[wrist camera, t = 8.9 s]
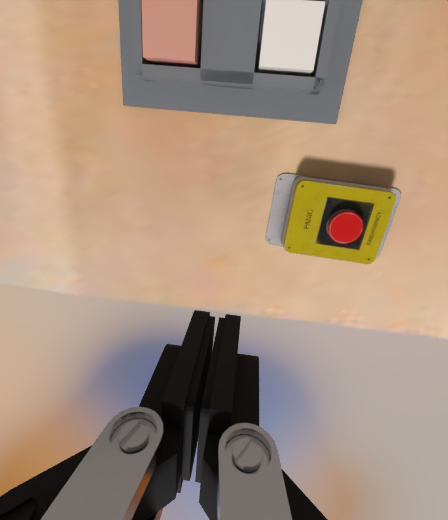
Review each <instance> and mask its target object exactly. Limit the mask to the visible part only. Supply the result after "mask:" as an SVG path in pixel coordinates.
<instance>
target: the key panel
mask: <svg viewBox="0 0 448 520" xmlns="http://www.w3.org/2000/svg"><path fill="white" fill-rule="evenodd" d="M309 1H325V7H324V12H323V18H322V24H321V30H320V35H319V41H318V47H317V53H316V59H315V64H314V70H313V71H312V73H311V74H310V75H309V76H308V77H306V76H293V75H280V74H267V73H259V61H260V52H261V43H262V34H263V24H264V15H265V6H266V0H201V3H202V5H203V24H202V47H201V68H193V67H180V66H167V65H154V64H152V63H151V62H149V61H148V60H146V59H145V58H143V47H142V0H119V22H120V44H121V66H122V88H123V105H124V106H132V107H143V108H155V109H166V110H178V111H189V112H201V113H212V114H224V115H235V116H247V117H258V118H270V119H281V120H293V121H304V122H316V123H327V124H336V122H337V118H338V113H339V108H340V104H341V99H342V94H343V89H344V85H345V80H346V75H347V71H348V66H349V61H350V56H351V52H352V47H353V42H354V38H355V33H356V28H357V24H358V19H359V14H360V9H361V5H362V0H309Z"/></svg>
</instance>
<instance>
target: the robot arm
mask: <svg viewBox="0 0 448 520" xmlns="http://www.w3.org/2000/svg"><path fill="white" fill-rule="evenodd" d="M240 319H241V317H240V316H236V315H228V314H226V316H225V318H219V322H218V327H217V332H216V336H215V342H214V347H213V336H214V324H215V317H212V316H210V312H205V311H196V310H195V311H194V313H193V316H192V318H191V322H190V324H189V327H188V329H187V332H186V335H185V338H184V341H183V343H182V346H178V345H171V344H167V345H166V346H165V348H164V351H163V353H162V355H161V357H160V359H159V362H158V364H157V366H156V369H155V371H154V373H153V375H152V378H151V380H150V382H149V385H148V387H147V389H146V391H145V394H144V396H143V398H142V400H141V403H140V405H139V407H133V408H129V409H126V410H124V411H122V412H120V413H119V414H117V415H116V416H114V417H113V418H112V420H111V421H110V422H109V423H108V424H107V425H106V427H105V428H104V430H103V431H102V433H101V434H100V435H99V437H98V438H97V440H96V441H95V443H94V444H93V445H92V446H90V447H88V448H86V449H85V450H83V451H81V452H79V453H77V454H75V455H74V456H72V457H70V458H68V459H66V460H64V461H62V462H61V463H59V464H57V465H55V466H53V467H52V468H50V469H48V470H46V471H44V472H42V473H40V474H39V475H37V476H35V477H33V478H31V479H29V480H28V481H26V482H24V483H22V484H20V485H18V486H17V487H15V488H13V489H11V490H10V491H8V492H7V493H5V494H4V495H2V496H1V497H0V520H160V517H161V514H162V510H163V507H165V506H166V505H167V504H169V503H170V502H171V501H173V500H174V499H175V498H176V493H177V492H178V493H180V491H181V487H182V482H183V480H187V481H189V480H190V477H191V472H192V467H193V462H194V457H195V452H196V446H197V441H198V452H197V453H198V454H197V467H196V480H195V481H196V482H199V483H201V486H200V499H199V503H200V505H201V506H202V508H203V509H204V511H205V513H206V514H207V516H208V518H209V519H210V520H327V519H326V518H325V516H323V514H322V513H321V512H320V511H319V510H318V509H317V508H316V506H314V504H313V503H312V502H311V501H310V500H309V499H308V498H307V497H306V496H305V494H304V493H303V492H302V491H301V490H300V489H299V488H298V487H297V485H296V484H295V483H294V482H293V481H292V480H291V479H290V478H289V477H288V475H287V474H285V472H284V471H283V470H282V469H281V464H280V460H279V455H278V451H277V447H276V445H275V442H274V440H273V439H272V437H271V436H270V435H269V433H267V432H266V431H265V430H264V429H262V428H261V427H259V358H258V357H257V356H251V355H244V354H237V351H238V341H239V329H240ZM212 347H213V351H212ZM198 437H199V438H198ZM198 439H199V440H198Z"/></svg>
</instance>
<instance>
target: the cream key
mask: <svg viewBox="0 0 448 520" xmlns="http://www.w3.org/2000/svg"><path fill="white" fill-rule="evenodd" d="M324 7H325V1H309V0H266V6H265V15H264V24H263V34H262V43H261V52H260V61H259V73H267V74H280V75H293V76H306V77H308V76H309V75H310V74H311V73H312V71H313V70H314V64H315V59H316V53H317V47H318V41H319V35H320V30H321V24H322V18H323V12H324Z"/></svg>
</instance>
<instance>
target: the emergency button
mask: <svg viewBox="0 0 448 520" xmlns="http://www.w3.org/2000/svg"><path fill="white" fill-rule="evenodd" d="M400 198H401V193H400V192H399V190H397V189H394V188H389V187H382V186H374V185H367V184H360V183H353V182H345V181H338V180H331V179H323V178H316V177H309V176H302V175H294V174H287V173H286V174H281V175H279V176H278V177H277V179H276V183H275V189H274V194H273V199H272V205H271V210H270V216H269V221H268V226H267V232H266V241H267V242H268V243H269V244H272V245H277V246H283V247H284V249H285V250H286V251H287V252H290V253H296V254H303V255H309V256H316V257H323V258H329V259H336V260H342V261H349V262H356V263H362V264H370V263H372V262H374V260H375V259H376V258H377V257H378V256H379V255H380V253H381V251H382V248H383V245H384V242H385V240H386V237H387V234H388V231H389V228H390V226H391V223H392V220H393V217H394V215H395V212H396V209H397V206H398V204H399V201H400Z"/></svg>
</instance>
